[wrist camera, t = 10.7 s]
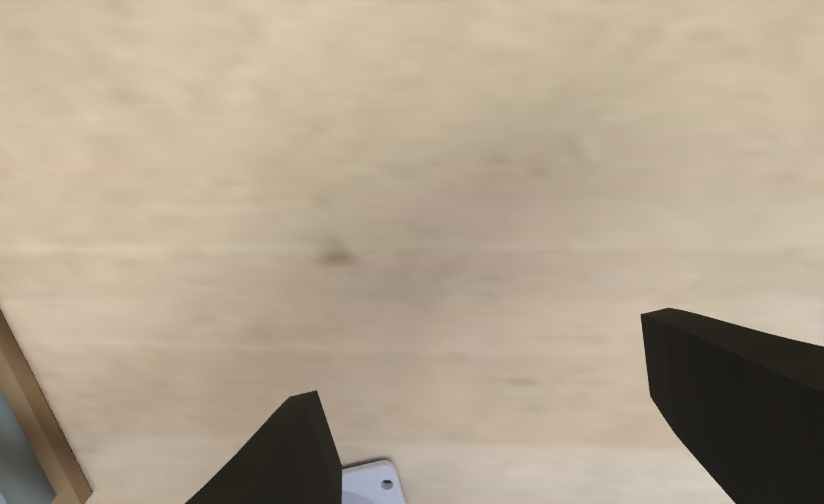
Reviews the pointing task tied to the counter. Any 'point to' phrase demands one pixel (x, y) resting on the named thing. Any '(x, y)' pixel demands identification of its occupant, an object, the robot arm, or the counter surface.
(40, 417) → the tray
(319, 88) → the counter surface
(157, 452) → the counter surface
